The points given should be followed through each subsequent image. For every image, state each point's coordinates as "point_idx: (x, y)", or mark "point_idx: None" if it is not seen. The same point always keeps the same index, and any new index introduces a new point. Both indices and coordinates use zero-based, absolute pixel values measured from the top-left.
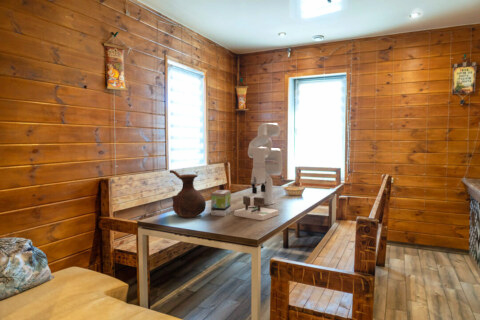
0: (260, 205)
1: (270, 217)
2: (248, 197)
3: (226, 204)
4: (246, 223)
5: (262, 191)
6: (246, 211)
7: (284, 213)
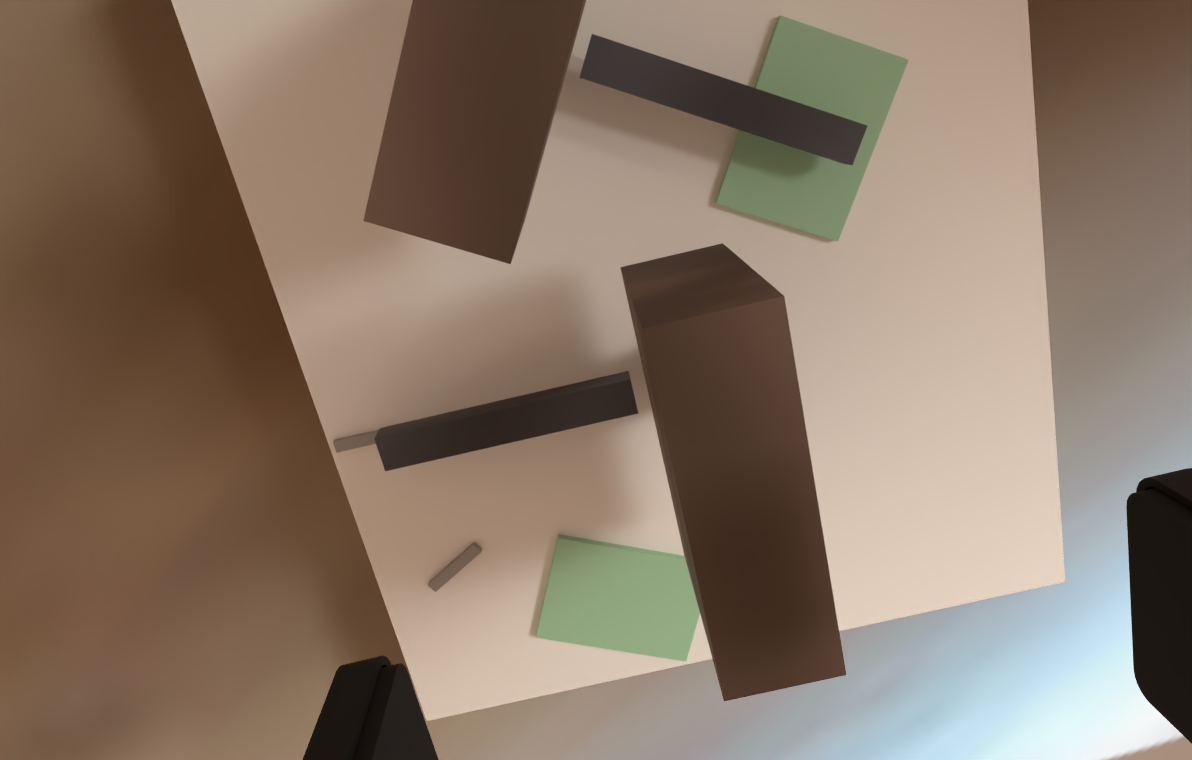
0: (674, 508)
1: None
2: (480, 164)
3: None
4: (71, 640)
5: (1139, 578)
6: None
7: None
